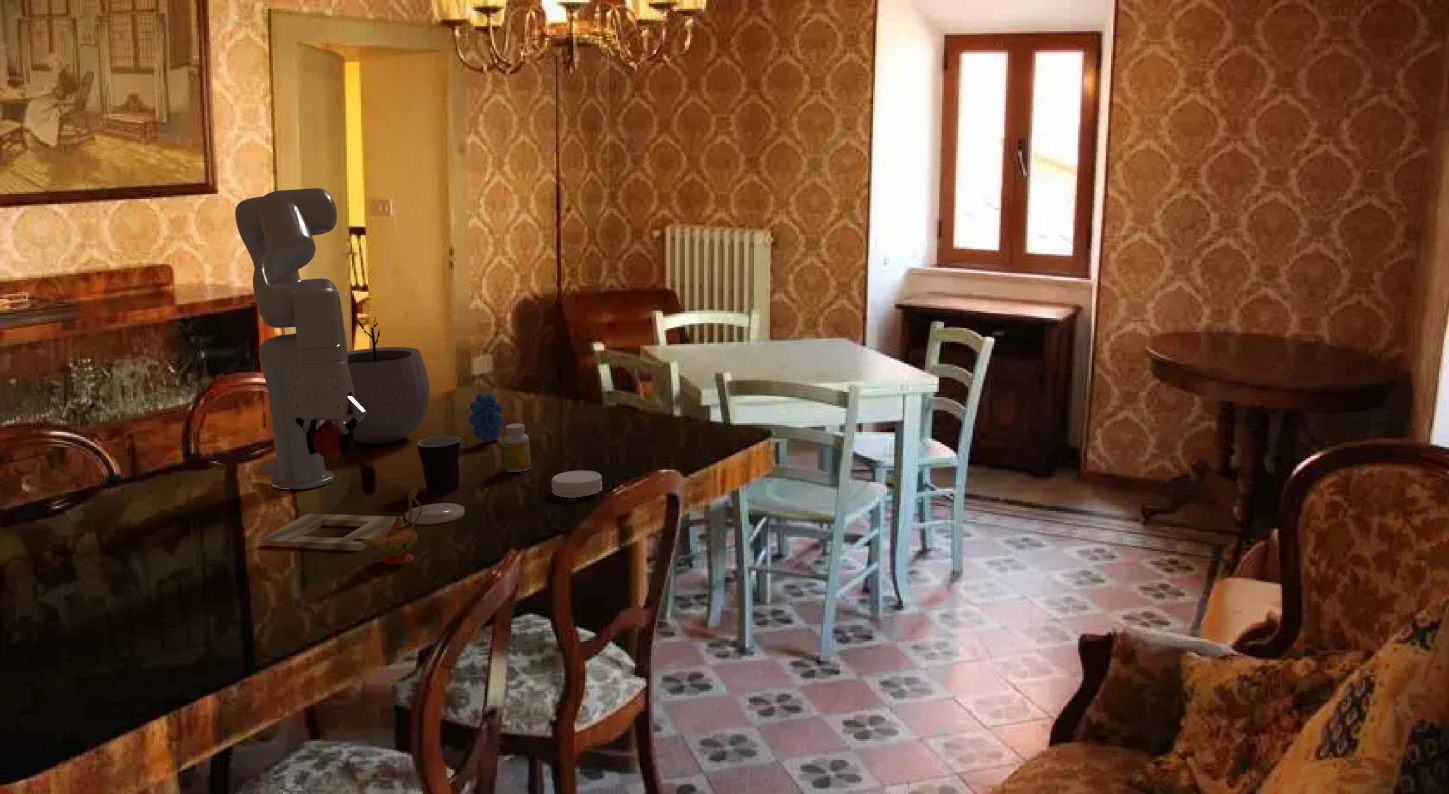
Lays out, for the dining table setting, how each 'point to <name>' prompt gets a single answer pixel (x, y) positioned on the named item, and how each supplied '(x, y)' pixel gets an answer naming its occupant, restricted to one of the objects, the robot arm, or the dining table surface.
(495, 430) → the grapes
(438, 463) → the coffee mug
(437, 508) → the saucer
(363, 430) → the plant pot
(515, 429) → the supplement bottle
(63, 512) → the dining table surface
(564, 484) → the white round container
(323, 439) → the onion
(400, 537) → the magic lamp
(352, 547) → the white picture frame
